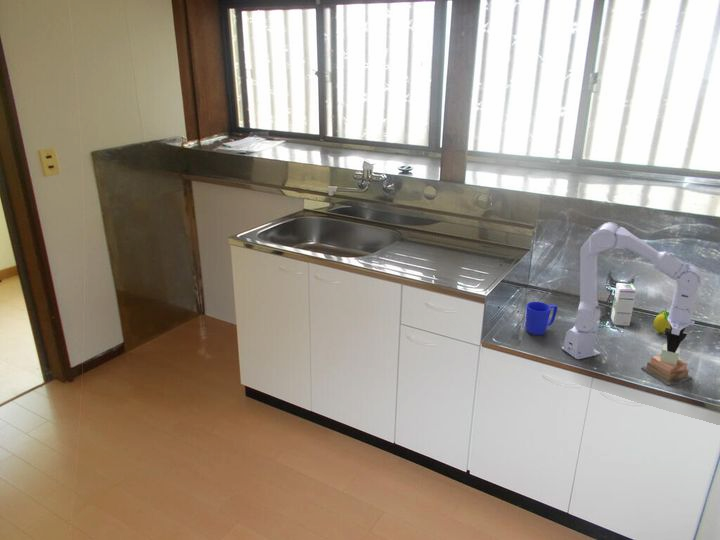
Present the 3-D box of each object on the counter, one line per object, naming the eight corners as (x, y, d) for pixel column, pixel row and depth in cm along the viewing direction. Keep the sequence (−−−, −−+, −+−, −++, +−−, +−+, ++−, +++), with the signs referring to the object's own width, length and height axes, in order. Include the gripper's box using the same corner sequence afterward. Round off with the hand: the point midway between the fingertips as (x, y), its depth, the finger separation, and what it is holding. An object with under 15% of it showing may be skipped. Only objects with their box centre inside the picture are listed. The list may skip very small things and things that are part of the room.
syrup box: (630, 326, 202) (637, 289, 196) (612, 324, 203) (619, 288, 197) (626, 319, 207) (633, 283, 202) (609, 317, 208) (616, 282, 203)
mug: (561, 333, 197) (565, 307, 193) (533, 339, 193) (536, 313, 189) (545, 323, 204) (549, 298, 200) (518, 328, 200) (521, 303, 196)
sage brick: (676, 365, 168) (679, 353, 166) (659, 360, 170) (662, 349, 168) (677, 358, 171) (680, 347, 170) (661, 354, 173) (664, 343, 172)
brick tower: (667, 385, 166) (671, 371, 164) (640, 369, 175) (644, 355, 173) (691, 379, 170) (695, 365, 168) (664, 363, 178) (667, 349, 176)
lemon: (668, 339, 193) (674, 313, 189) (649, 334, 196) (655, 309, 192) (671, 332, 198) (677, 306, 194) (653, 327, 201) (659, 302, 197)
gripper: (695, 318, 156) (685, 360, 161) (700, 300, 167) (690, 340, 172) (667, 312, 159) (658, 353, 165) (673, 295, 171) (664, 333, 176)
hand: (672, 346), depth 169 cm, fingers open, 7 cm apart
